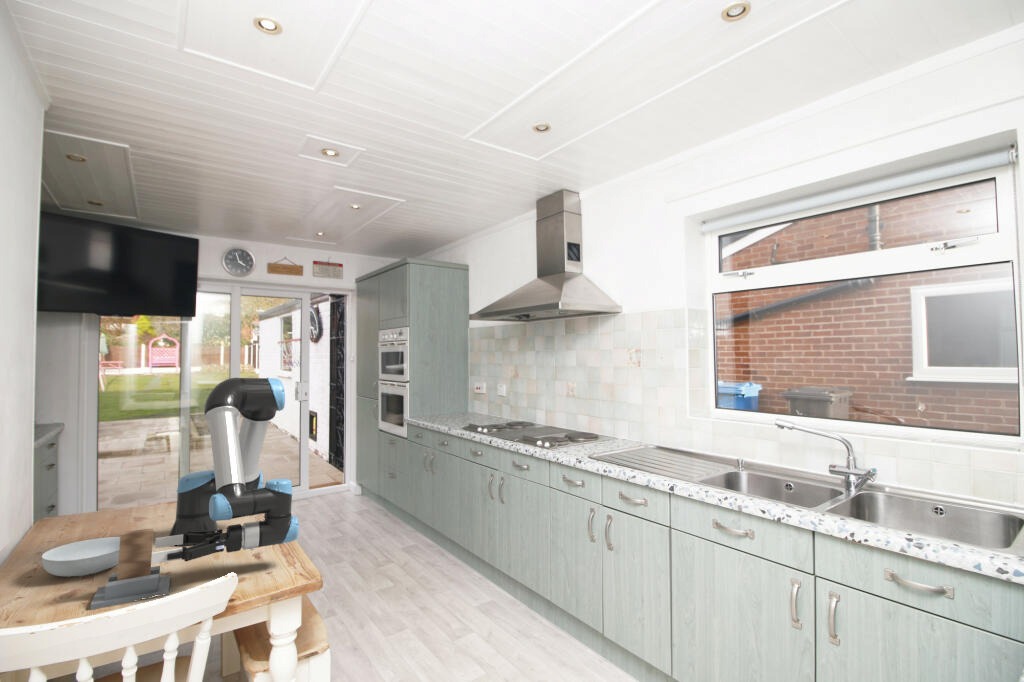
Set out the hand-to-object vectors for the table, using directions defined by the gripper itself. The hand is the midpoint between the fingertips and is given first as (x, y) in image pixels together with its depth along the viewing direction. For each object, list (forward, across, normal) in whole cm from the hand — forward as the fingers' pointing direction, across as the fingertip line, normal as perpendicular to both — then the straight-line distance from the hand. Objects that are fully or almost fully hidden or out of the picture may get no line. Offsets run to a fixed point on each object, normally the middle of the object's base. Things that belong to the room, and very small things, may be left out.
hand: (153, 550), depth 133 cm
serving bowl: (+17, +26, -11) cm, 33 cm away
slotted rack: (+4, 0, -11) cm, 11 cm away
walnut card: (+4, 0, -9) cm, 10 cm away
